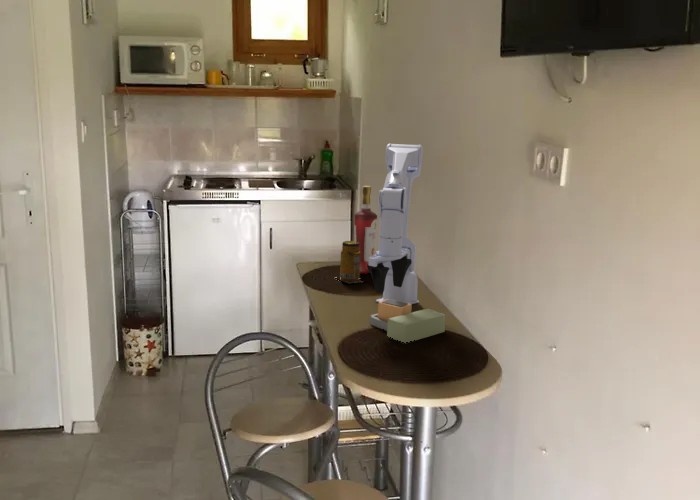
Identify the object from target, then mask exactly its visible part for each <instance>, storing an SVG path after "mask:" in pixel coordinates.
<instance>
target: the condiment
mask: <svg viewBox="0 0 700 500" xmlns="http://www.w3.org/2000/svg"><path fill="white" fill-rule="evenodd" d="M341 245H342V247H341V250H340V265H339V266H340V267H339V269H340V270H339V277H340V280H343V281H348V282H352V281H353V282H354V281H358V280H359V279H360V276H361V274H360V251H359V245H360V244H359V242H356V241H355V240H345V241H343V242H342V244H341ZM335 278H337V276H336V277H335Z"/></svg>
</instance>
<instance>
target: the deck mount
mask: <svg viewBox="0 0 700 500" xmlns="http://www.w3.org/2000/svg"><path fill="white" fill-rule="evenodd" d="M446 319H447V318H446V314H445V313H442V312H439V311H437V310H433V309H430V308H428V307H427V308H424V309H420V310H416V311H411V313H408V314H404V315H400V316H396V317H393V318H389V319H388V321H385V320H382V319H380V318H378V312H377V313H375V314H373V313H372V314H370V315H369V325H370V326H374V327H376V328H378V329H381V330H383V329H384V330H383V331H386V337H387V336H388V337H387V338H390V337H391V338H390V339H392V338H393V339H392V340H395V341H397V340H398V342H399V341H401V342H400V343H402V342H404V343H405V344H407V343H406V342H408V343H411V342H410V341H412V342H415V341H418V340H421V339H425V338H428V337H431V336H435V335H438V334H441V333H445V330H446ZM414 340H415V341H414ZM404 343H403V344H404Z"/></svg>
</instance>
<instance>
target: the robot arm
mask: <svg viewBox="0 0 700 500" xmlns="http://www.w3.org/2000/svg"><path fill="white" fill-rule="evenodd" d="M384 155H385V159H384V161H385V165H386V171H387V175H386V177H385V180H384V184H383V187H382V189H380V190H379V193H378V200H377V201H378V202H377V205H378V218H379V232H378V233H379V235H378V237H379V238H378V250H376V251H375V254H374V256H373V257H370V258H369V263H368V264H367V268H368V270H369V272H370V276H371V279H372V283H373V287H374V292H375V293H377V294H382V298H377V299H376V300H375V302H377V303H379V302H382V301H384V300H386V299H391V300H396V301H400V302H404V303H409V304H412V305H413V304H414V305H415V304H418V303H420V301H419V300H418V287H419V286H418V283H419V280H418V276H417V273H416V272H415V270H416V263H417V246H416V243H415V242H414V241H412V240H411V239H410V238H409V237H408V232H409V231H408V229H409V219H410V218H409V217H410V208H411V207H410V204H411V196H412V195H411V194H412V193H411V192H412V186H413V184H414V183H413V182H414V180H415V179H416V178H419V177H421V173H422V166H423V158H424V157H423V156H424V148H423V146H422V144H406V143H405V144H404V143H403V144H402V143H399V144H397V143H392V142H391V143H388V144H387V145H386V147H385V154H384Z"/></svg>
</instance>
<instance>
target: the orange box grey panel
mask: <svg viewBox="0 0 700 500" xmlns="http://www.w3.org/2000/svg"><path fill="white" fill-rule="evenodd" d="M377 303H378V305H377V308H378V309H377V313H378V318H380V319H382V320H385V321H388V319H389V318H393V317H396V316H400V315H404V314H408V313H412V305H413V304H409V303H404V302H400V301H396V300H391V299H386V300H384V301H382V302H377Z"/></svg>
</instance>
